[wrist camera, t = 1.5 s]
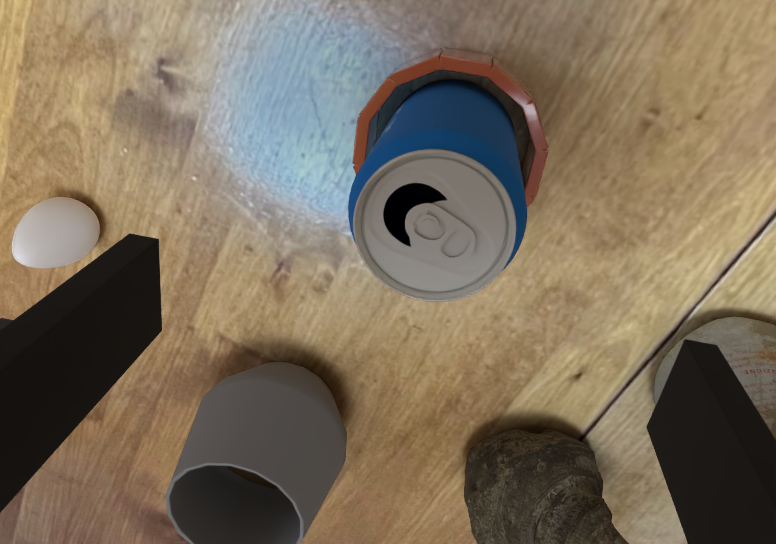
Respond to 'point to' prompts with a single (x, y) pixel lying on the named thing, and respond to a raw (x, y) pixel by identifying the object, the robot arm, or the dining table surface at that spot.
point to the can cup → (467, 65)
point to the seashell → (536, 491)
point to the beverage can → (441, 194)
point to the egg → (55, 233)
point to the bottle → (738, 359)
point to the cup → (258, 458)
